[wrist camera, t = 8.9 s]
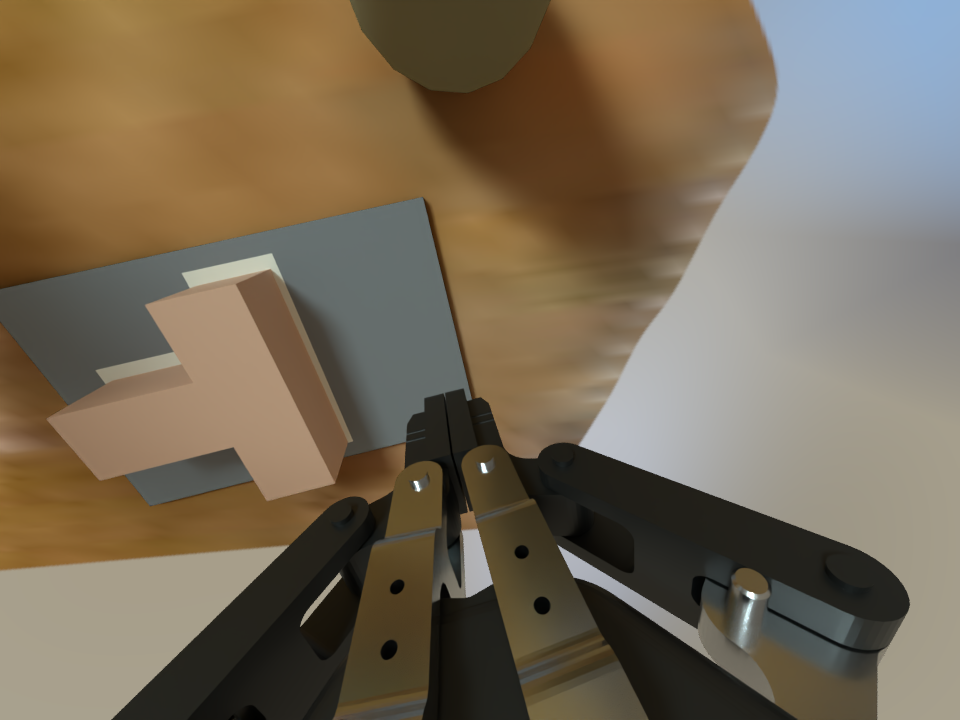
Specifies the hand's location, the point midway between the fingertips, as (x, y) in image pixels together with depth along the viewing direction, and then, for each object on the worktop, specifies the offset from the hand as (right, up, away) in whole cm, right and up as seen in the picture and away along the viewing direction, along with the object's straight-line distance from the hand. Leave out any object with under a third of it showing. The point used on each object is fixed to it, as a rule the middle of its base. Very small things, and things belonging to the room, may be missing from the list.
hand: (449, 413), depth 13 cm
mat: (-12, +2, +9) cm, 15 cm away
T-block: (-14, 0, +8) cm, 17 cm away
